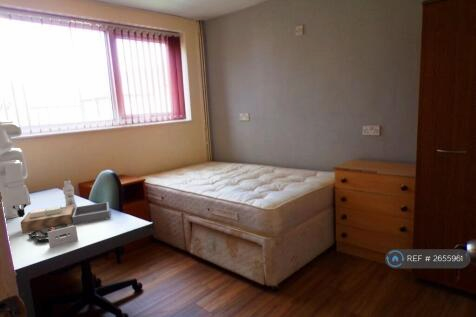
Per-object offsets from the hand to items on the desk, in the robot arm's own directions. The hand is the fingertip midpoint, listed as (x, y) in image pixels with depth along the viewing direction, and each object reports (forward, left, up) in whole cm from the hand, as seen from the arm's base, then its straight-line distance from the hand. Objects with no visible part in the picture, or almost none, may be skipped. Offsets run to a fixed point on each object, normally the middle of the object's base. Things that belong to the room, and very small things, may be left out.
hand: (21, 216), depth 180 cm
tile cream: (+8, 0, -1) cm, 8 cm away
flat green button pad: (+17, -23, -7) cm, 30 cm away
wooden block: (+13, 0, -7) cm, 15 cm away
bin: (+35, 0, -7) cm, 36 cm away
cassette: (+24, -40, -7) cm, 47 cm away
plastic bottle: (+22, +21, -7) cm, 31 cm away
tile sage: (+16, 0, -1) cm, 16 cm away
